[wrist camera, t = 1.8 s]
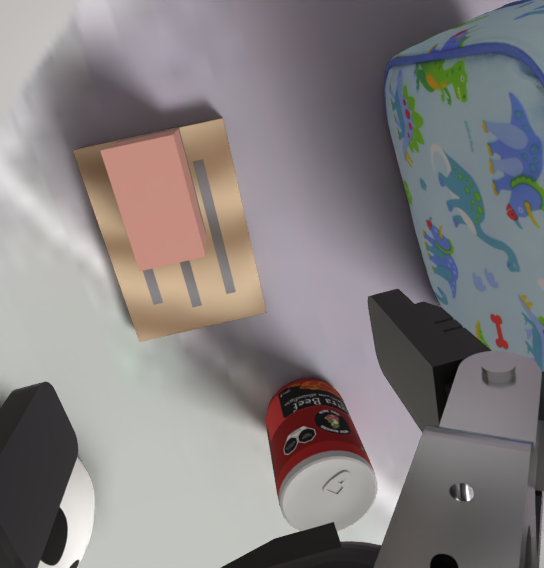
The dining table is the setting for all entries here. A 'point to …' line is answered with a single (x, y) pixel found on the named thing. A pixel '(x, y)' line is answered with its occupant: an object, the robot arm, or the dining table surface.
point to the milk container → (71, 522)
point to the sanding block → (156, 198)
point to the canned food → (318, 457)
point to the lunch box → (478, 169)
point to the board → (193, 273)
